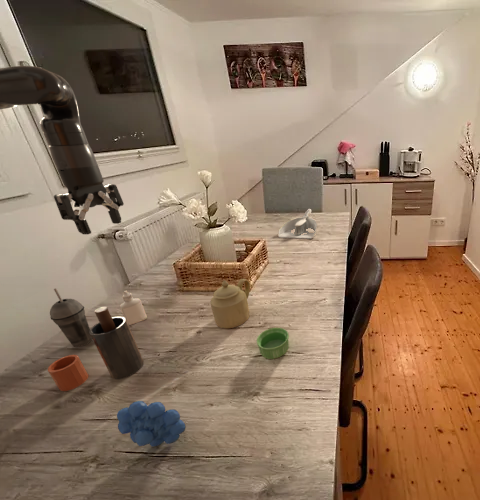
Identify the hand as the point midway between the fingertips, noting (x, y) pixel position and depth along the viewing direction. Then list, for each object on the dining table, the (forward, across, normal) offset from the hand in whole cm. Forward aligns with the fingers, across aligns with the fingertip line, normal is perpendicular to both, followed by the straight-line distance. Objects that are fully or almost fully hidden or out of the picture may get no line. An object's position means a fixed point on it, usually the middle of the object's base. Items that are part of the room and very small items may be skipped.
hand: (102, 228), depth 74 cm
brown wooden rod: (+35, +13, +6) cm, 38 cm away
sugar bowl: (+36, -14, +23) cm, 45 cm away
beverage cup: (+36, +5, -17) cm, 40 cm away
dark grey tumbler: (+36, +13, +6) cm, 39 cm away
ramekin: (+36, +1, +43) cm, 57 cm away
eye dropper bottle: (+36, -6, -9) cm, 38 cm away
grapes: (+36, +30, +30) cm, 56 cm away
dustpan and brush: (+36, -104, +20) cm, 112 cm away
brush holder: (+36, +19, -4) cm, 41 cm away
